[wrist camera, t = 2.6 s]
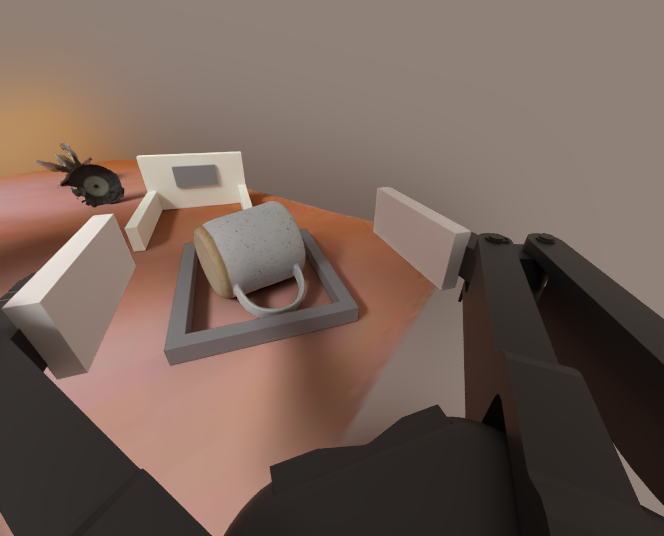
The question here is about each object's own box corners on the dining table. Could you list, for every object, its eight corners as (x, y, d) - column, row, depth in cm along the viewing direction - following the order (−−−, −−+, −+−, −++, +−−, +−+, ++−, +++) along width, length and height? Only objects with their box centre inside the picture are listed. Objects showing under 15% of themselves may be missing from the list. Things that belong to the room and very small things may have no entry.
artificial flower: (75, 222, 44) (16, 158, 38) (73, 200, 60) (31, 153, 54) (132, 195, 48) (86, 134, 42) (116, 182, 63) (81, 136, 57)
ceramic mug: (200, 279, 29) (180, 208, 25) (271, 255, 33) (264, 191, 29) (246, 342, 22) (230, 258, 18) (327, 301, 27) (329, 226, 22)
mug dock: (133, 251, 33) (106, 183, 29) (155, 208, 45) (137, 155, 41) (257, 236, 37) (249, 174, 33) (247, 200, 50) (240, 151, 45)
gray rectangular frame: (170, 365, 20) (163, 350, 19) (187, 255, 33) (184, 243, 32) (357, 321, 24) (359, 307, 23) (307, 239, 37) (306, 228, 36)
